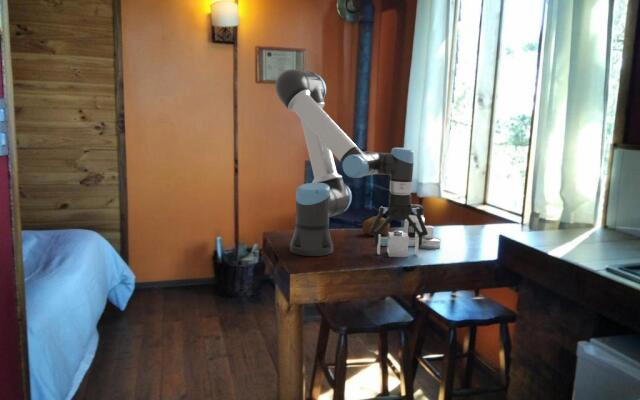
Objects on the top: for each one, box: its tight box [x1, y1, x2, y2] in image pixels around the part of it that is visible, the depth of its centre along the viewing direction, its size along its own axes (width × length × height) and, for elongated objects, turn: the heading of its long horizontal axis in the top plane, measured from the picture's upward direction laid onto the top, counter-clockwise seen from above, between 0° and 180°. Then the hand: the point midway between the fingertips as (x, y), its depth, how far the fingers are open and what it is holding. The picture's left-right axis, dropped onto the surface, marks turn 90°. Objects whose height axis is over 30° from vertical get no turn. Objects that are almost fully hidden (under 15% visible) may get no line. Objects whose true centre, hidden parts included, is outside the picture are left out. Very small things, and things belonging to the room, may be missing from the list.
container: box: [403, 204, 426, 239], centre depth 206 cm, size 8×8×13 cm
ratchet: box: [380, 225, 441, 250], centre depth 193 cm, size 22×9×8 cm, turn 89°
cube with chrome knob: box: [386, 229, 409, 258], centre depth 180 cm, size 6×6×8 cm
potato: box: [362, 215, 391, 237], centre depth 208 cm, size 8×12×8 cm, turn 122°
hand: (397, 253), depth 180 cm, fingers open, 12 cm apart
